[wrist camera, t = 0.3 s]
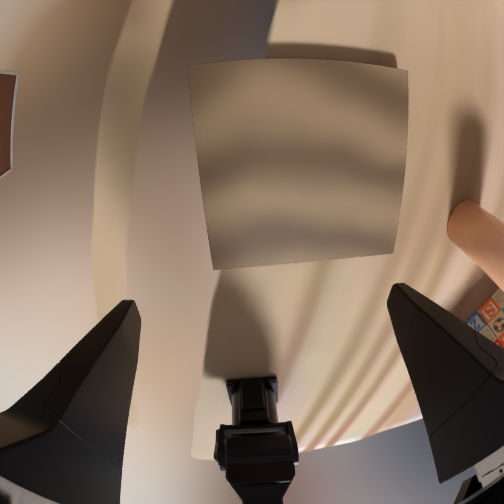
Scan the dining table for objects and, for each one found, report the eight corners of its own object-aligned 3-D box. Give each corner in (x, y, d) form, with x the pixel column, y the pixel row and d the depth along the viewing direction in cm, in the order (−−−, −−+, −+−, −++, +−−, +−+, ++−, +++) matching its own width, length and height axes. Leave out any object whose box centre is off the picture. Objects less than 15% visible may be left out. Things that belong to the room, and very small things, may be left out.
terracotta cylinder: (472, 240, 26) (525, 292, 17) (442, 244, 26) (498, 301, 17) (482, 200, 23) (544, 246, 15) (452, 200, 23) (518, 250, 15)
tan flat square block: (386, 245, 26) (392, 253, 24) (214, 260, 25) (213, 269, 24) (398, 71, 17) (407, 70, 16) (191, 68, 17) (187, 66, 16)
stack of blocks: (514, 266, 29) (562, 317, 18) (520, 284, 31) (561, 332, 21) (418, 363, 37) (449, 426, 26) (432, 371, 39) (460, 427, 28)
